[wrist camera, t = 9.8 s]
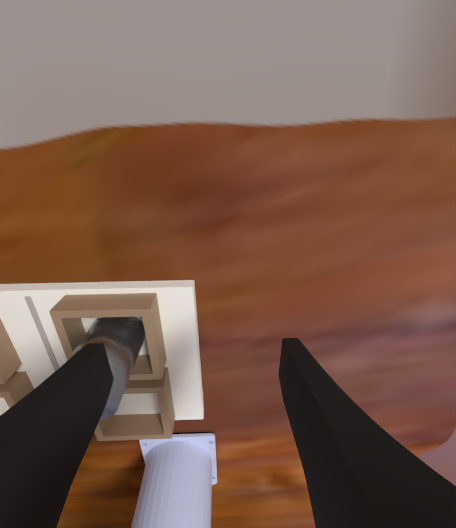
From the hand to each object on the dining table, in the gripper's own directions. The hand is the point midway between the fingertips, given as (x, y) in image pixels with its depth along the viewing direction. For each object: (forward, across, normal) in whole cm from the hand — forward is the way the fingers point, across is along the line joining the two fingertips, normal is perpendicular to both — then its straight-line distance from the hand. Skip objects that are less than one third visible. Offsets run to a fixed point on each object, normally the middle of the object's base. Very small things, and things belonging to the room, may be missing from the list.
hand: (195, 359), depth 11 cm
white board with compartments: (+9, +13, +9) cm, 18 cm away
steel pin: (+8, +7, +5) cm, 12 cm away
